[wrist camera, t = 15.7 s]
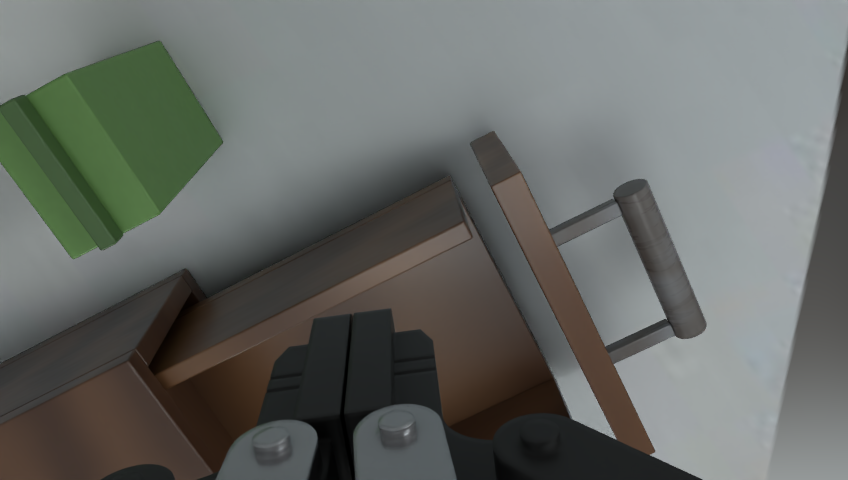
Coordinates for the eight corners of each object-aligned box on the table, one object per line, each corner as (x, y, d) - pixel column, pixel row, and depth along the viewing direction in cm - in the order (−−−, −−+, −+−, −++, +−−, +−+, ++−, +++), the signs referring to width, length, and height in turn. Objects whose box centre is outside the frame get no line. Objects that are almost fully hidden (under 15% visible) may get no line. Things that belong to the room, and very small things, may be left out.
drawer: (583, 84, 33) (632, 115, 26) (688, 331, 37) (753, 409, 31) (136, 312, 35) (81, 391, 29) (286, 517, 40) (267, 625, 33)
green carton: (92, 75, 32) (-45, 129, 22) (159, 38, 32) (53, 74, 22) (159, 177, 34) (63, 271, 24) (224, 143, 34) (154, 223, 23)
